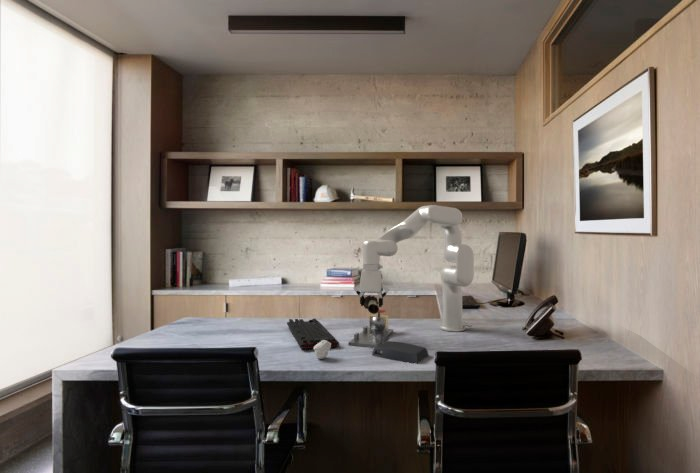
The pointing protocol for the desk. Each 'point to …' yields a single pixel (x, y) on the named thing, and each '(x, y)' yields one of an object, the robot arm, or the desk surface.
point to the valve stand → (373, 331)
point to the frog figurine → (322, 349)
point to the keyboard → (310, 333)
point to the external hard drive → (400, 351)
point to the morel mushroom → (371, 304)
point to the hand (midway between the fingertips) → (371, 305)
